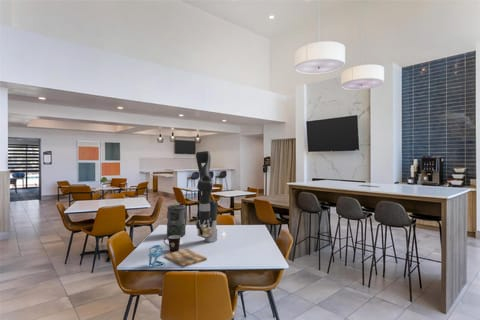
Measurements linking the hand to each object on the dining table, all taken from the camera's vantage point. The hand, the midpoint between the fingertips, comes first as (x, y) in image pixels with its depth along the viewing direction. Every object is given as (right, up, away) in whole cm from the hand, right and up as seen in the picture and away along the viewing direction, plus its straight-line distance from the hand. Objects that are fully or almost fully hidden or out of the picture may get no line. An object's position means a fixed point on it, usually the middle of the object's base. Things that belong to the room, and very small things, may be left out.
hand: (204, 234), depth 187 cm
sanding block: (0, -2, 0) cm, 2 cm away
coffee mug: (-25, -15, +11) cm, 31 cm away
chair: (-29, -15, -17) cm, 36 cm away
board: (-12, -15, -5) cm, 20 cm away
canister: (-31, -15, +49) cm, 60 cm away
